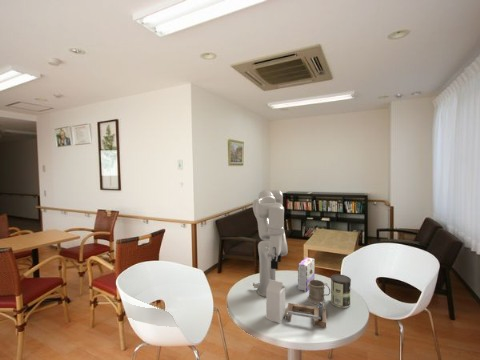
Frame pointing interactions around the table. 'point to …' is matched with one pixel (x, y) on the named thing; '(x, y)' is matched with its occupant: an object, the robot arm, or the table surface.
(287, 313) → the rail
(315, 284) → the mug
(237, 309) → the table surface
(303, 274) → the candy box
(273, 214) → the robot arm
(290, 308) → the wooden frame
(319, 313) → the hook post
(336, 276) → the coffee can
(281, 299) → the milk carton
